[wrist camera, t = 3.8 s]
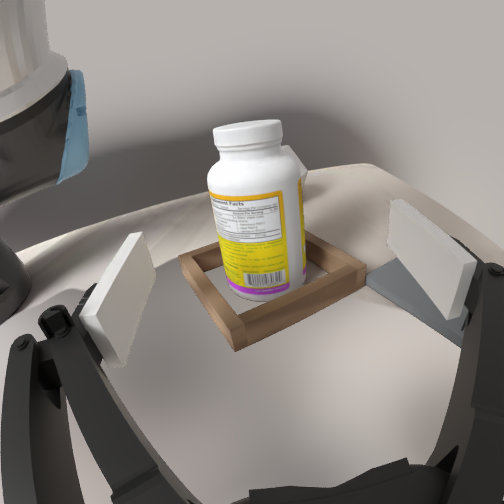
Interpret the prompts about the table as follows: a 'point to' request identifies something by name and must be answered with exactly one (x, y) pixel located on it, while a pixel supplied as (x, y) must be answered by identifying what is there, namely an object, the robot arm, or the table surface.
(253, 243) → the supplement bottle
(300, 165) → the die
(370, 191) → the table surface
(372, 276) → the slate coaster
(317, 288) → the walnut frame
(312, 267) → the table surface
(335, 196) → the table surface
